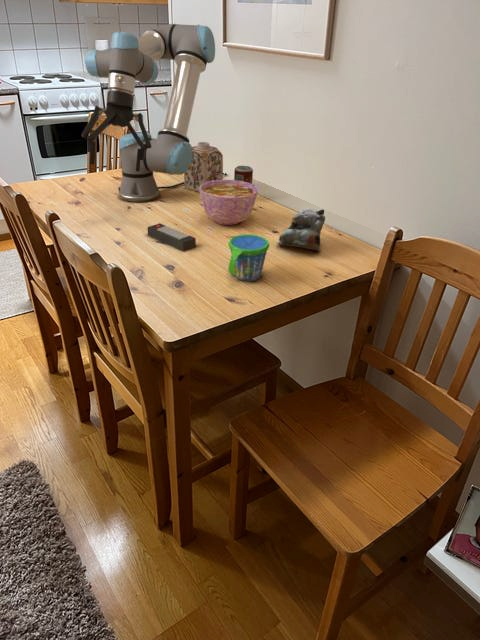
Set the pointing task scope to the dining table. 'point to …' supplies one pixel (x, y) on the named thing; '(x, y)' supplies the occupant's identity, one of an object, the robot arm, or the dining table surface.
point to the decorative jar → (203, 166)
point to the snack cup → (247, 256)
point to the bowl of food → (228, 200)
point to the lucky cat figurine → (304, 230)
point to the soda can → (243, 174)
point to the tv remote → (171, 237)
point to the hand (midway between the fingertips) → (114, 168)
